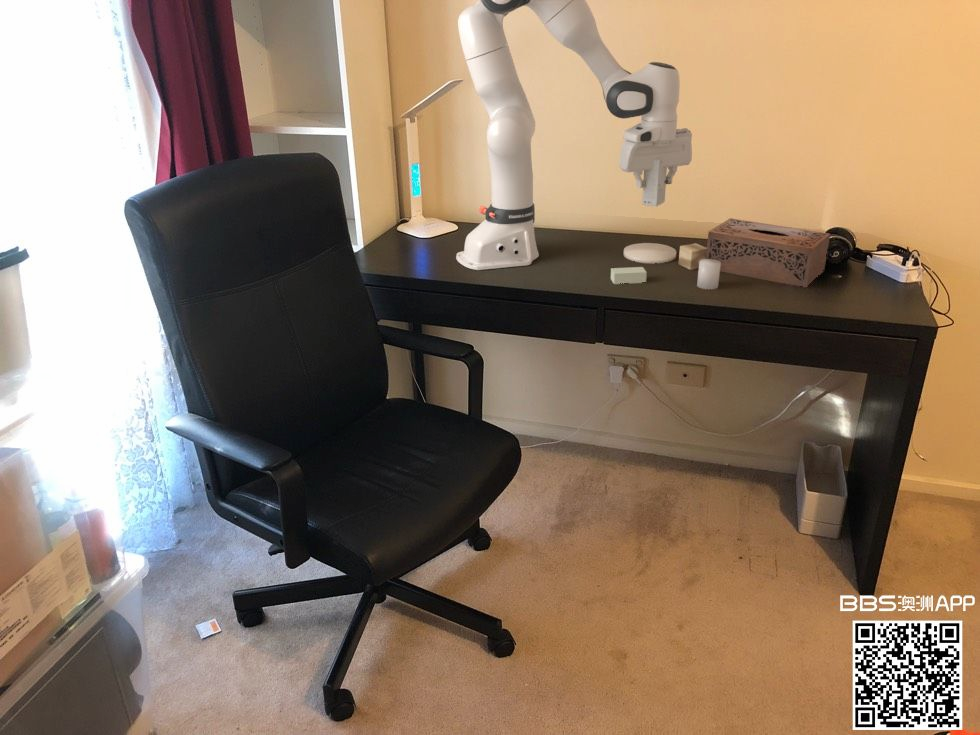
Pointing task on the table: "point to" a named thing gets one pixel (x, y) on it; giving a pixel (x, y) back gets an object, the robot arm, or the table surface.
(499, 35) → the robot arm
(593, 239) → the table surface
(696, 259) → the birch block
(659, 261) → the cream saucer
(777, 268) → the tissue box cover
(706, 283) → the grey plastic cylinder
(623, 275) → the sage brick
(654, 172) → the skincare box
